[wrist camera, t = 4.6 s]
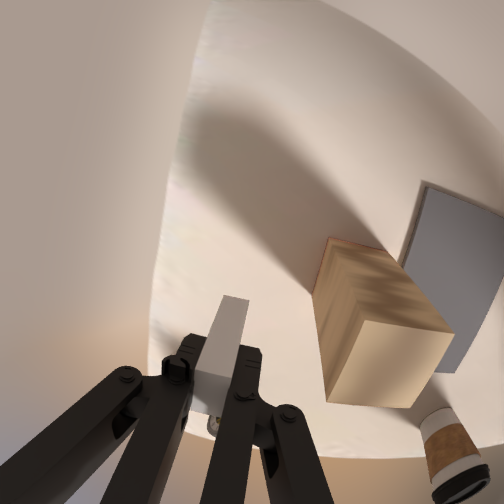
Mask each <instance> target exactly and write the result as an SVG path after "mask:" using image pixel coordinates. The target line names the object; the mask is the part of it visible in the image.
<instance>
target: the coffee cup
mask: <svg viewBox="0 0 504 504" xmlns="http://www.w3.org/2000/svg"><path fill="white" fill-rule="evenodd" d="M420 431H421V435H422V439H423V443H424V449H425V454H426V459H427V464H428V470H429V476H430V482H431V484H432V485H433V493H432V498H433V501H434V502H435V504H459V503H461V502H463V501H465V500H466V499H469V498H470V497H472V496H474V495H475V494H477V493H478V492H479V491H481V490H482V489H483V488H485V487H486V486H487V485H488V484H489V482H490V475H489V471H490V470H489V468H488V465H487V464H484V463H483V461H482V460H481V455H480V453H479V451H478V450H477V448H476V446H475V445H474V443H473V441H472V440H471V438H470V436H469V435H468V433H467V431H466V430H465V428H464V427H463V425H462V424H461V422H460V420H459V419H458V417H457V415H456V414H455V412H454V411H453V409H451V408H442V409H439V410H437V411H435V412H433V413H432V414H430V415H429V416H427V417H426V418H425V419H424V420H423V422H422V423H421V426H420Z"/></svg>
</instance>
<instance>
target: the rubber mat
mask: <svg viewBox="0 0 504 504" xmlns="http://www.w3.org/2000/svg"><path fill="white" fill-rule="evenodd" d="M401 268H402V269H403V270H404V271H405V272H406V273H407V274H408V276H409V277H410V278H411V279H412V280H413V282H414V283H415V284H416V285H417V286H418V288H419V289H420V290H421V291H422V292H423V294H424V295H425V296H426V297H427V299H428V300H429V301H430V302H431V304H432V305H433V306H434V307H435V309H436V310H437V311H438V312H439V314H440V315H441V316H442V318H443V319H444V320H445V322H446V323H447V324H448V325H449V327H450V328H451V329H452V331H453V332H454V333H455V335H454V337H453V339H452V341H451V343H450V344H449V346H448V348H447V350H446V352H445V353H444V355H443V357H442V359H441V360H440V362H439V364H438V365H437V367H436V369H435V370H434V372H438V373H455V371H456V370H457V368H458V366H459V365H460V363H461V361H462V360H463V358H464V356H465V355H466V353H467V351H468V349H469V347H470V346H471V344H472V342H473V340H474V338H475V337H476V335H477V333H478V331H479V329H480V327H481V325H482V323H483V321H484V319H485V317H486V315H487V313H488V311H489V309H490V306H491V304H492V302H493V300H494V298H495V295H496V293H497V291H498V288H499V286H500V284H501V281H502V279H503V276H504V218H503V217H500V216H498V215H496V214H494V213H492V212H489V211H487V210H485V209H482V208H480V207H478V206H475V205H473V204H470V203H468V202H466V201H463V200H461V199H458V198H456V197H453V196H450V195H448V194H445V193H443V192H440V191H437V190H434V189H432V188H429V187H426V189H425V193H424V196H423V200H422V204H421V207H420V211H419V214H418V218H417V221H416V224H415V228H414V231H413V234H412V237H411V240H410V243H409V246H408V249H407V252H406V255H405V258H404V261H403V264H402V267H401Z"/></svg>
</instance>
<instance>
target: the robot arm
mask: <svg viewBox="0 0 504 504" xmlns="http://www.w3.org/2000/svg"><path fill="white" fill-rule="evenodd" d="M248 305H249V300H245V299H240V298H236V297H231V296H227V295H224V296H223V299H222V301H221V304H220V306H219V309H218V311H217V314H216V316H215V319H214V322H213V324H212V327H211V329H210V332H209V334H208V337H204V336H200V335H196V334H192V333H190V334H189V335H187V336H186V337H185V338H184V339H183V341H182V343H181V346H180V347H179V349H178V351H177V353H176V355H170V356H167V357H165V358H164V359H163V360H162V375H158V376H142V374H141V372H140V371H139V370H138V369H136V368H134V367H131V366H122V367H119V368H117V369H115V370H114V371H113V372H112V373H110V374H109V375H108V376H107V377H106V378H104V379H103V380H102V381H101V382H100V383H99V384H97V385H96V386H95V387H94V388H93V389H92V390H91V391H89V392H88V393H87V394H86V395H84V396H83V397H82V398H81V399H80V400H79V401H77V402H76V403H75V404H74V405H72V406H71V407H70V408H69V409H68V410H67V411H65V412H64V413H63V414H62V415H61V416H59V417H58V418H57V419H56V420H55V421H53V422H52V423H51V424H50V425H49V426H48V427H46V428H45V429H44V430H43V431H42V432H41V433H39V434H38V435H37V436H36V437H35V438H33V439H32V440H31V441H30V442H28V443H27V444H26V445H25V446H24V447H23V448H21V449H20V450H19V451H18V452H17V453H15V454H14V455H13V456H12V457H11V458H10V459H8V460H7V461H6V462H5V463H4V464H2V465H1V466H0V504H64V503H65V502H66V501H67V500H68V499H69V498H70V497H71V496H72V495H73V494H74V493H75V492H76V491H77V490H78V489H79V488H80V487H81V486H82V485H83V483H84V482H85V481H86V480H87V479H88V478H89V477H90V476H91V475H92V474H93V473H94V472H95V471H96V470H97V469H98V468H99V467H100V466H101V465H102V464H103V462H104V461H105V460H106V459H107V458H108V457H109V456H110V455H111V454H112V453H113V452H114V451H115V450H116V448H117V447H118V446H119V445H120V444H121V443H122V442H123V441H124V440H125V439H126V438H127V437H128V436H129V434H130V433H131V432H132V431H133V430H134V429H135V430H134V432H133V434H132V436H131V438H130V440H129V442H128V444H127V446H126V448H125V450H124V453H123V455H122V457H121V459H120V461H119V463H118V465H117V467H116V470H115V472H114V474H113V476H112V478H111V480H110V483H109V485H108V487H107V489H106V491H105V493H104V495H103V498H102V500H101V502H100V504H159V503H160V500H161V497H162V494H163V491H164V488H165V485H166V482H167V479H168V476H169V473H170V470H171V467H172V464H173V461H174V459H175V455H176V453H177V450H178V447H179V444H180V441H181V438H182V435H183V432H184V429H185V426H186V423H187V420H188V413H189V410H190V407H191V410H192V411H195V412H199V413H203V414H207V415H211V416H216V417H220V418H221V420H220V424H219V428H218V432H217V436H216V440H215V444H214V448H213V452H212V456H211V460H210V464H209V468H208V472H207V477H206V480H205V484H204V488H203V492H202V496H201V500H200V504H244V499H245V493H246V486H247V479H248V471H249V465H250V458H251V451H252V444H253V445H255V446H257V447H260V448H259V449H260V454H261V459H262V465H263V469H264V475H265V480H266V485H267V489H268V494H269V498H270V504H334V501H333V499H332V496H331V493H330V490H329V487H328V484H327V481H326V478H325V475H324V472H323V469H322V466H321V463H320V460H319V457H318V454H317V451H316V449H315V446H314V443H313V440H312V437H311V434H310V431H309V428H308V425H307V422H306V419H305V416H304V414H303V412H302V411H301V410H300V409H299V408H298V407H296V406H293V405H289V404H283V405H279V406H278V407H274V406H272V405H270V404H268V403H266V402H265V401H264V400H262V398H261V397H260V396H259V393H258V387H259V379H260V371H261V362H262V354H261V352H260V349H259V348H255V347H250V346H245V345H241V344H240V342H241V337H242V333H243V328H244V324H245V319H246V315H247V310H248Z"/></svg>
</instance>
